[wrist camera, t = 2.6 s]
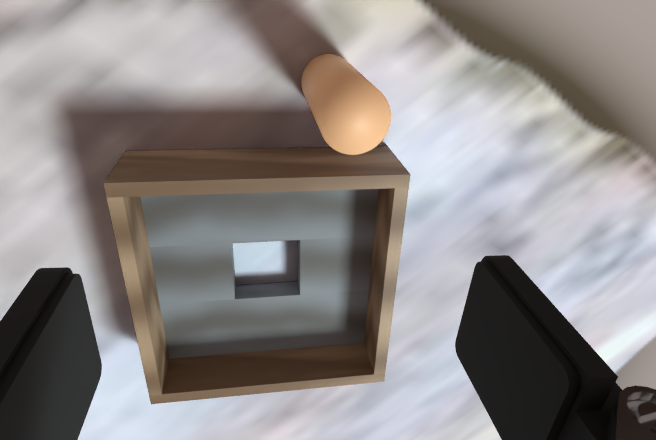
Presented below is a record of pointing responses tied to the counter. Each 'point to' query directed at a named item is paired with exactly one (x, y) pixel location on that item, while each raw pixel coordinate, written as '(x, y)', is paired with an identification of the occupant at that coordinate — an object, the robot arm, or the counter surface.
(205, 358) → the bore box
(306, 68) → the peg
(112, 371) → the counter surface
